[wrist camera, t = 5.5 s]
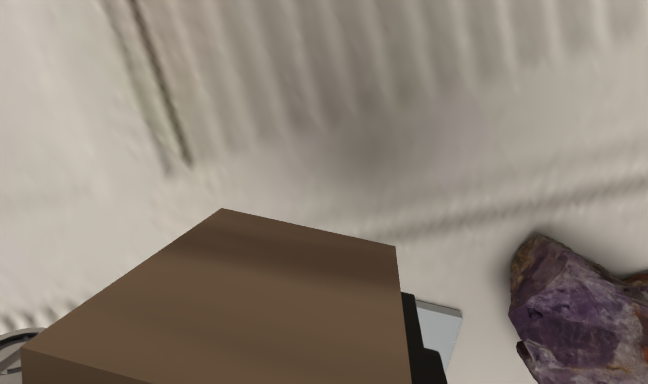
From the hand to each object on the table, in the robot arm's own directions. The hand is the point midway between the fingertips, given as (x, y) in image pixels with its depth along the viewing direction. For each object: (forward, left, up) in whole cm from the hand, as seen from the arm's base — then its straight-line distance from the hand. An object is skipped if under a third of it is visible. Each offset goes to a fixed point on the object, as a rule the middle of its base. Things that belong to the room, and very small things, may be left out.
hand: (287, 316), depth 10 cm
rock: (+5, +17, -17) cm, 25 cm away
